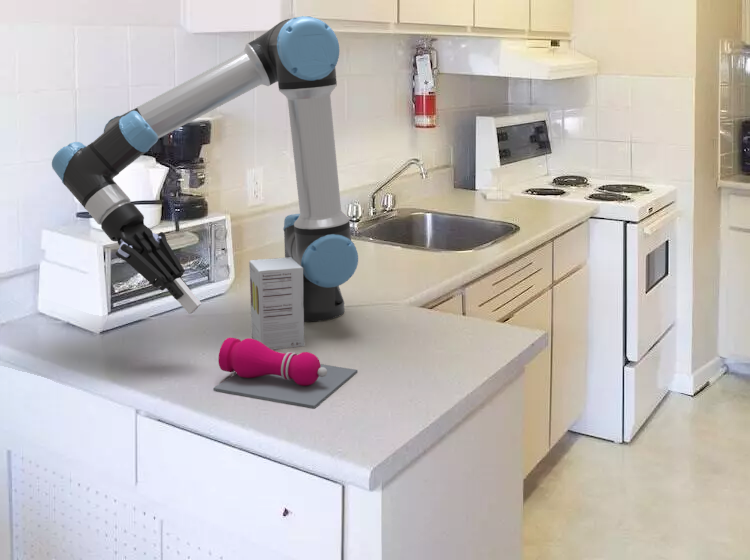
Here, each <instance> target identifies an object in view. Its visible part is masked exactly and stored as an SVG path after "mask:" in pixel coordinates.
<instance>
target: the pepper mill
mask: <svg viewBox="0 0 750 560" xmlns="http://www.w3.org/2000/svg"><path fill="white" fill-rule="evenodd" d="M218 352H219V353H218V366H219V368H220V370H221V371H223V372H228V373H234V372H235V374H236V373H237V375H239V376H240V377H243V378H255V377H259V376H263V375H271V374H272V375H279V376H282V378H283V379H288V380H292V379H293V380H294V381H295V382H296V383H297V384H298V385H301V386H308V385H311V384H313V383H314V382H315V381H316V380H317V379H318V377H319V376H320V377H325V376H326V375H327V370H326V368H324V367H321V365H320V364H321V362H320V359H319V358H318V357H317V356H316V355H315V354H314V353H311V352H309V351H303V352H300V353H296V352H291V351H288V352H286V353H284V352H279V351H275V349H274V350H271V349H270V348H268V347H267V346H265V345H264V344H263V343H261V342H259V341H257V340H255V339H253V338H250V337H249V338H244V339H242V340H240V339H239V338H235V337H227V338H226V339H224V341H223V342H222V344H221V346H220V348H219V351H218Z"/></svg>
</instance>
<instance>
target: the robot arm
mask: <svg viewBox="0 0 750 560" xmlns="http://www.w3.org/2000/svg"><path fill="white" fill-rule="evenodd" d="M339 59H340V43H339V40H338V37H337V35H336V33H335V32H334V30H333V29H332V28H331V26H329V25H328V24H327V23H326V22H325V21H324V20H321V19H318V18H316V17H312V16H306V15H305V16H303V15H302V16H301V15H300V16H297V17H293V18H287V19H284V20H282V21H280V22H278V23H277V24H275V25H274V26H273V27H272V28H270V29H269V30H267V31H265V33H263V34H261V35H260V36H258V37H257V38H255V39H254V40H251V41H250V42H248V43H246V44H245V47H244V50H243V51H241V52H239V53H238V54H235V55H234V56H232V57H229V58H228V59H226V60H224V61H222V62H220V63H219V64H217V65H214V66H213V67H211V68H209V69H207V70H205V71H203V72H202V73H199V74H197V75H196V76H193V77H192V78H190V79H188V80H186V81H184V82H183V83H181V84H178V85H177V86H175V87H173V88H171V89H169V90H167V91H165V92H163V93H161V94H159V95H157V96H156V97H154V98H151V99H150V100H148V101H146V102H144V103H142V104H140V105H139V106H137V107H136V108H134V109H131V110H128V111H127V112H125V113H123V114H122V115H116V116H114V117H113V118H111V119H110V120H108V122H107V123H106V124H105V126H104V128H103V132H102V134H100V135H99V136H98V137H97V138H96V139H95V140H94V141H93V142H90V143H89V144H87V145H85V144H83V142H80V141H73V142H71V143H69V144H67V145H66V146H62V148H60V149H59V150H58V151H57V152H56V154H54V156H53V158H52V159H51V167H52V170H53V171H54V172H55V174H56V175H57V176H58V178H59V179H60V180H61V183H62V184H63V185H64V186H65V187H66V188H67V189H68V191H69V192H70V193H71V194H72V196H74V197H75V199H77V201H78V202H79V204H80V205H81V206H82V207H83V208H84V209H85V210H86V211H87V212H88V214H89V215H90V216H91V217H92V218H93V220H94V221H95V222H96V223H97V225H101V227H100V228H101V229H102V231H103V232H104V233H105V235H106V236H107V237H108V238H109V239H110V241H111V242H117V244H118V245H119V248H118V249H117V250H116V252H115V255H116V256H117V257H118V258H119V259H121V260H123V261H125V262H126V263H127V264H128V265H130V267H132V269H134V270H135V271H136V272H137V273H138V274H139V275H141V276H142V278H144V279H145V280H146V281H147V282H148V283H150V284H151V285H152V286H153V287H154V288H156V289H157V288H159V287H160V288H159V290H161V291H164V290H166V291H168V292H169V293H170V295H171V296H172V297H173V299H175V300H176V301H177V302H178V303H179V304H180V305H181V306H182V308H183V309H184V310H185V311H186V313H188V315H191V314H192V313H194V312H196V310H198V308H200V306H201V305H202V302H201V301H200V299H199V298H197V296H196V295H195V293H193V291H192V289H191V288H190V286H189V285H188V284H187V283H186V282H185V281H184V279H183V278H182V277H183V275H184V274H185V269H184V267H183V265H182V263H181V262H180V260H179V259H178V257H177V256H176V254H175V252H174V251H173V249H172V247H171V246H170V244H169V242H168V240H167V237H166V234H165V232H162V231H159V233H154V232H153V231H152V230H151V229H150V227H147V225H145V223H144V219H145V216H144V214H143V213H142V212H141V211H140V209H139V208H137V205H135V204H134V203H131V199H130V197H129V196H128V195H127V194H126V193H125V192H124V191H123V189H122V188H121V187H120V186H119V185H118V184H117V183H116V181H115V180H114V178H115V177H116V176H118V175H119V174H120V173H121V172H122V171H124V170H125V169H126V168H127V167H129V166H130V165H131V164H132V163H134V162H135V161H136V160H137V159H139V158H140V157H141V156H142V155H143V154H145V153H147V152H149V150H150V149H151V148H152V147H153V146H154V145H155V144H157V142H158V140H159V139H160V138H163V137H164V136H166V135H168V134H170V133H171V132H173V131H176V130H178V129H179V128H182V127H183V126H185V125H187V124H189V123H191V122H193V121H195V120H196V119H199V118H200V117H202V116H204V115H206V114H208V113H209V112H211V111H214V110H216V109H218V108H220V107H221V106H223V105H224V104H225V105H226V104H227V103H229V102H230V101H232V100H235V99H236V98H238V97H240V96H243V95H244V94H246V93H247V92H250V91H252V90H253V89H255V88H258V87H259V86H266V87H269V86H271V85H273V84H275V83H277V85H278V92H280V93H281V94H282V95H284V96H285V97H286V99H287V107H288V114H289V125H290V132H291V133H290V134H291V142H292V152H293V153H292V154H293V160H294V161H293V162H294V171H295V178H296V180H295V181H296V187H297V189H296V190H297V197H298V207H299V213H292V214H289V215H287V216H285V218H284V221H283V228H282V230H283V236H284V258H287V257H292V258H293V260H294V261H295V262H297V263H298V264H299V265H300V266H301V267H303V308H304V322H317V321H318V322H319V321H326V320H327V321H328V320H331V319H335V318H338V317H340V316H342V315H343V314H344V313H345V301H344V297H343V295H342V291H341V288H340V286H342V285H343V284H345V283H347V282H348V281H349V280H350V278H351V277H353V276H354V274H355V272H356V270H357V268H358V266H359V253H358V250H357V247H356V246H355V243H354V241H352V236H351V235H352V233H351V223H350V217H349V216H347V214H345V213H344V212H343V211H342V205H341V204H342V203H341V196H340V195H341V194H340V183H339V175H338V163H337V161H338V160H337V153H336V140H335V131H334V121H333V112H332V111H333V110H332V109H333V108H332V100H331V95H332V92H333V91H334V90H335V89H336V87H337V84H338V83H337V82H338V81H337V71H336V66H337V65H338V61H339Z"/></svg>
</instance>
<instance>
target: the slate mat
mask: <svg viewBox="0 0 750 560" xmlns="http://www.w3.org/2000/svg"><path fill="white" fill-rule="evenodd" d="M320 365H321V367H324V368H326V370H327V375H326V376H325V377H320V376H319V377H318V379H317V380H316V381H315V382H314V383H313V384H311V385H308V386H301V385H298V384H297V383H296V382H295V381H294V380H293V379H292V380H288V379H283V378H282V376H279V375H272V374H271V375H263V376H259V377H255V378H243V377H240V376H239V375H237V373H236V372H235V373H234V374H233V375H231V376H230V377H228V378H227V379H225V380H224V381H222V382H221V383H219V384H217V385H216V386H214V387H213V391H214V392H218V393H219V392H220V393H225V394H232V395H236V396H242V397H246V398H247V397H248V398H253V399H260V400H265V401H270V402H276V403H282V404H286V405H287V404H288V405H292V406H298V407H305V408H309V409H316V408H317V407H318V406H319V405H321V403H323V402H324V401H325V400H326V399H328V398H329V397H330V396H331V395H333V393H334V392H336V391H337V390H338V389H340V388H341V387H342V386H343V385H344V384H346V382H348V381H349V380H350V379H351V378H352V377H353V376H355V375H356V374H357V373H358V369H354V368H348V367H341V366H336V365H335V366H334V365H328V364H322V363H320Z"/></svg>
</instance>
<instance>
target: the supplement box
mask: <svg viewBox="0 0 750 560" xmlns="http://www.w3.org/2000/svg"><path fill="white" fill-rule="evenodd" d="M248 264H249V265H248V266H249V287H250V289H249V290H250V291H249V292H250V293H249V294H250V320H251V321H250V322H251V337H252V338H251V339H255V340H257V341H259V342H261V343H263V344H264V345H265V346H267V347H268V348H270V349H271V350H274V351H275V350H281V349H282V350H283V349H291V348H299V347H305V321H304V308H303V267H301V266H300V265H299V264H298V263H297V262H295V261H294V260H293V258H292V257H287V258H285V257H279V258H278V257H276V258H262V259H250V260H249V261H248Z"/></svg>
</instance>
